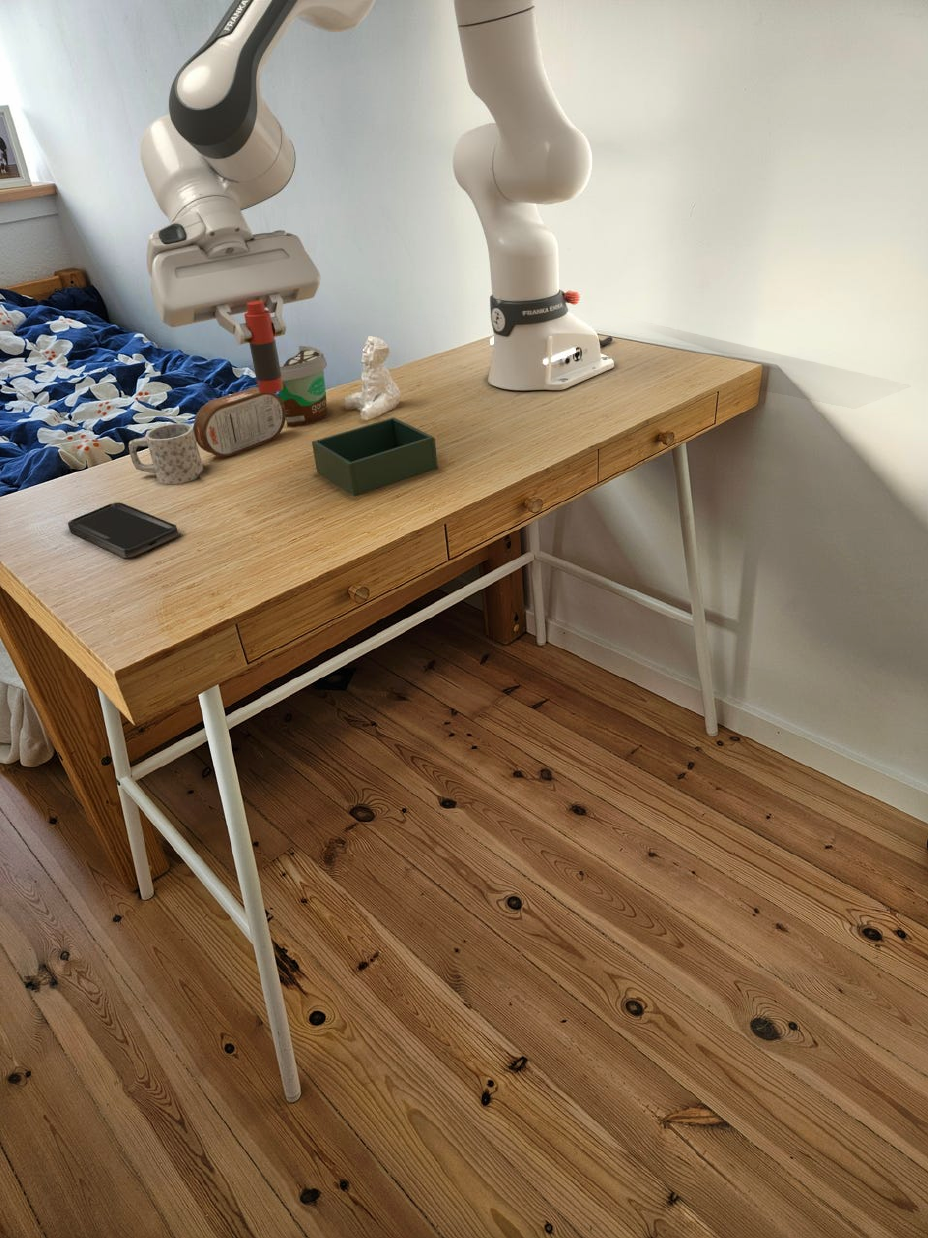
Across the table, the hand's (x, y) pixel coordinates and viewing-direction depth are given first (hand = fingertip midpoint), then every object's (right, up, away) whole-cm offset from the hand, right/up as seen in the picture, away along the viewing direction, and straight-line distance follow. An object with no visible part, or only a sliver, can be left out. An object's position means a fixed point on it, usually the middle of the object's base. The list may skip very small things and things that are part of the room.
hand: (263, 336), depth 107 cm
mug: (-19, -13, +24) cm, 33 cm away
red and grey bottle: (0, -5, +4) cm, 7 cm away
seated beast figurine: (+10, +1, +41) cm, 42 cm away
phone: (-20, -23, +8) cm, 31 cm away
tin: (-9, -8, +31) cm, 33 cm away
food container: (0, -1, +40) cm, 40 cm away
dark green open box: (+12, -14, +18) cm, 25 cm away
